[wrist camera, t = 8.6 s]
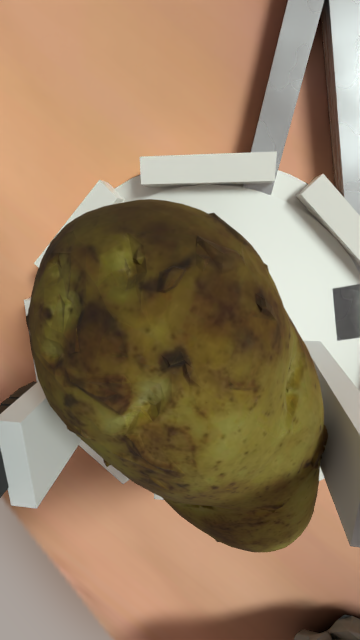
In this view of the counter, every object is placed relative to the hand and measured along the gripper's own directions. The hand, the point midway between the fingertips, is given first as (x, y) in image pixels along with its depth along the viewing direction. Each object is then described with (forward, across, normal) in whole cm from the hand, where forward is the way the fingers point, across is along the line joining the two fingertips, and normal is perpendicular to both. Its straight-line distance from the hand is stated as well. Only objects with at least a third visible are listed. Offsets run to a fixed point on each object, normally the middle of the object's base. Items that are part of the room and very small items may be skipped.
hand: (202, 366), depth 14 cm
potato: (0, 0, 0) cm, 0 cm away
